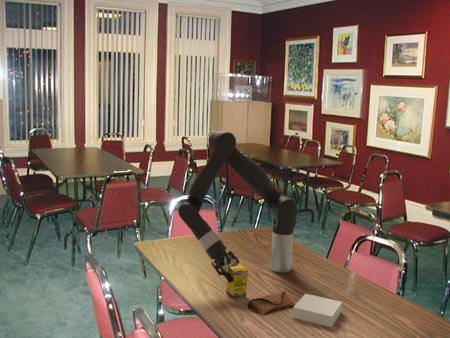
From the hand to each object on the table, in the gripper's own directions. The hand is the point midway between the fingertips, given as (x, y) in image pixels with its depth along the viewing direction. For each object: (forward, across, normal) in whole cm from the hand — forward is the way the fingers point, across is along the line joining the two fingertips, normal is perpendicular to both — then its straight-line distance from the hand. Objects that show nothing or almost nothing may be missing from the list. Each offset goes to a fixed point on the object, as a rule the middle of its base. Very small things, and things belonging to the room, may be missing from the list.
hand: (236, 278), depth 198 cm
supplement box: (+5, 0, +5) cm, 7 cm away
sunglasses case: (+17, -3, -7) cm, 18 cm away
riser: (+28, -1, -19) cm, 34 cm away
